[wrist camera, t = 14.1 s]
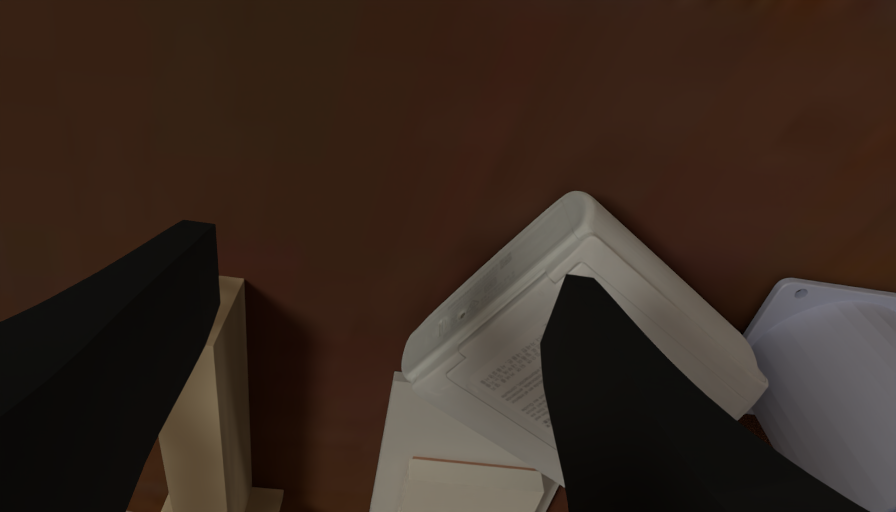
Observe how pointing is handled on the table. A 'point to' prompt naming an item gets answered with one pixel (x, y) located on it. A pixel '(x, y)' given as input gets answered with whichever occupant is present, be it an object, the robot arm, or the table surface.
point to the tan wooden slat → (215, 423)
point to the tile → (469, 487)
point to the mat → (431, 445)
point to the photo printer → (528, 311)
